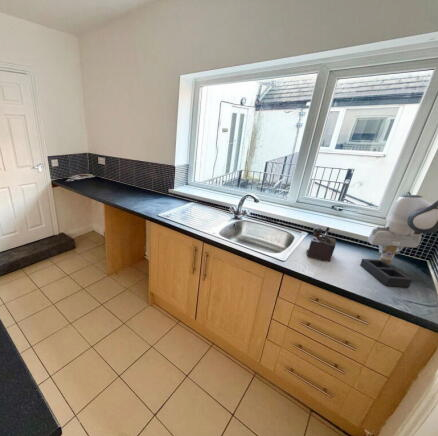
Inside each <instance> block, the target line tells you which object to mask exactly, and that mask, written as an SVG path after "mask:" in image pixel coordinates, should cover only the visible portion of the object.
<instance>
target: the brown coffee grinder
mask: <svg viewBox="0 0 438 436" xmlns="http://www.w3.org/2000/svg"><path fill="white" fill-rule="evenodd" d="M312 232H313V234H312V236H311V239H310V242H309V246H308V248H307V249H306V256H307V257H309V258H312V259H315V260H317V261H322V262H327V263H330V262H331V260H332V257H333V254H334V251H335V249H336V245H337V239H336V238H334V237H333V238H332V237H329V236H328V235H329V232H330V227H328V226H327V227H326V229H325V231H324V234H323V230H322V228H320V227H314V228H313V229H312Z"/></svg>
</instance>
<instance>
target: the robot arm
mask: <svg viewBox="0 0 438 436" xmlns="http://www.w3.org/2000/svg"><path fill="white" fill-rule="evenodd" d="M390 212H391V213H390V216H389V217H388V218H387V221H386V224H385V226H377V227H374V228H373V229H372V231H371V233H370V234H369V235H368V238H367V243H369V244H370V245H372V246H378V248H379V250H378V253H379V254H384V253H385V250H384V248H385V246H391V243H392V241H395V242H401V243H400V245H399V246H398V248H397V250H396V253H395V255H398V254H399V252H401V251H402V250H403V249H404V248H412V249H413V248H414V249H415V248H417V247H419V246H420V243H421V241H422V238H423V237H422V235H429V234H434V233H437V232H438V199H436V200H435V202H433V203H432V202H430V201H429V200H427V199H426V198H425V197H424V196H422V195H419V194H405V195H404V194H403V195H401V196H398V198H396V200H395V202H394V203H393V205H392V209H391V211H390Z"/></svg>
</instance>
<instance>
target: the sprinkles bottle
mask: <svg viewBox="0 0 438 436" xmlns="http://www.w3.org/2000/svg"><path fill="white" fill-rule="evenodd" d="M400 243H401V242H395V241H392V243H391V246H385V248H384V247H383V248H384V250H385V253H384V254H382V253H380V257H379V259H378V260H383V261H385V262H386V263H388V264H389V265H391V263H392V261H393V259H394V257H395V255H396V254H395V253H396V250H397V248H398V246H399V245H400Z"/></svg>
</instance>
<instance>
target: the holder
mask: <svg viewBox="0 0 438 436" xmlns="http://www.w3.org/2000/svg"><path fill="white" fill-rule="evenodd" d="M359 266H360V267H361V268H362V269H363V270H365V271H366V272H368V274H370V275H371V276H372V277H374V278H375V279H377V281H379V282H380V283H382V284H383V285H385V286H387V287H399V288H410V286H411V283H412V282H413V279H412V278H410V277H409V276H408V275H406V274H405V273H404V272H402V271H400V270H399V269H397V268H396V267H394V266H392V265H391V264H390V265H389V264H388V263H386V262H385V261H383V260H379V259H373V258H372V259H371V258H361V261H360V264H359Z"/></svg>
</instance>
